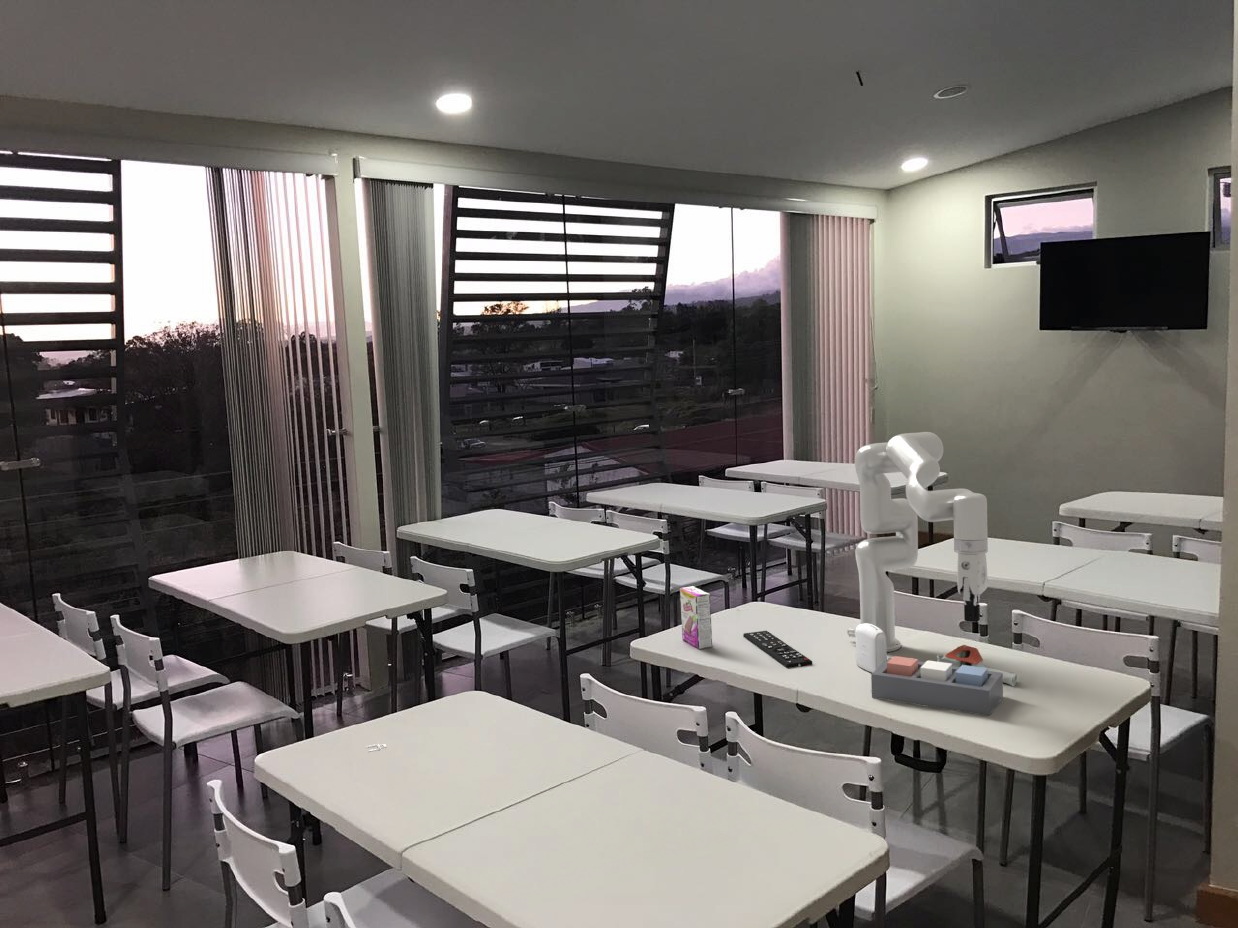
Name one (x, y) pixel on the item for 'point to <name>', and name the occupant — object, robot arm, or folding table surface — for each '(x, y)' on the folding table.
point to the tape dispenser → (972, 661)
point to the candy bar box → (696, 617)
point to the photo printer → (870, 647)
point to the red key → (902, 666)
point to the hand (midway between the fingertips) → (972, 620)
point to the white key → (936, 671)
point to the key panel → (938, 691)
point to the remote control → (777, 649)
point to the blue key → (972, 675)
